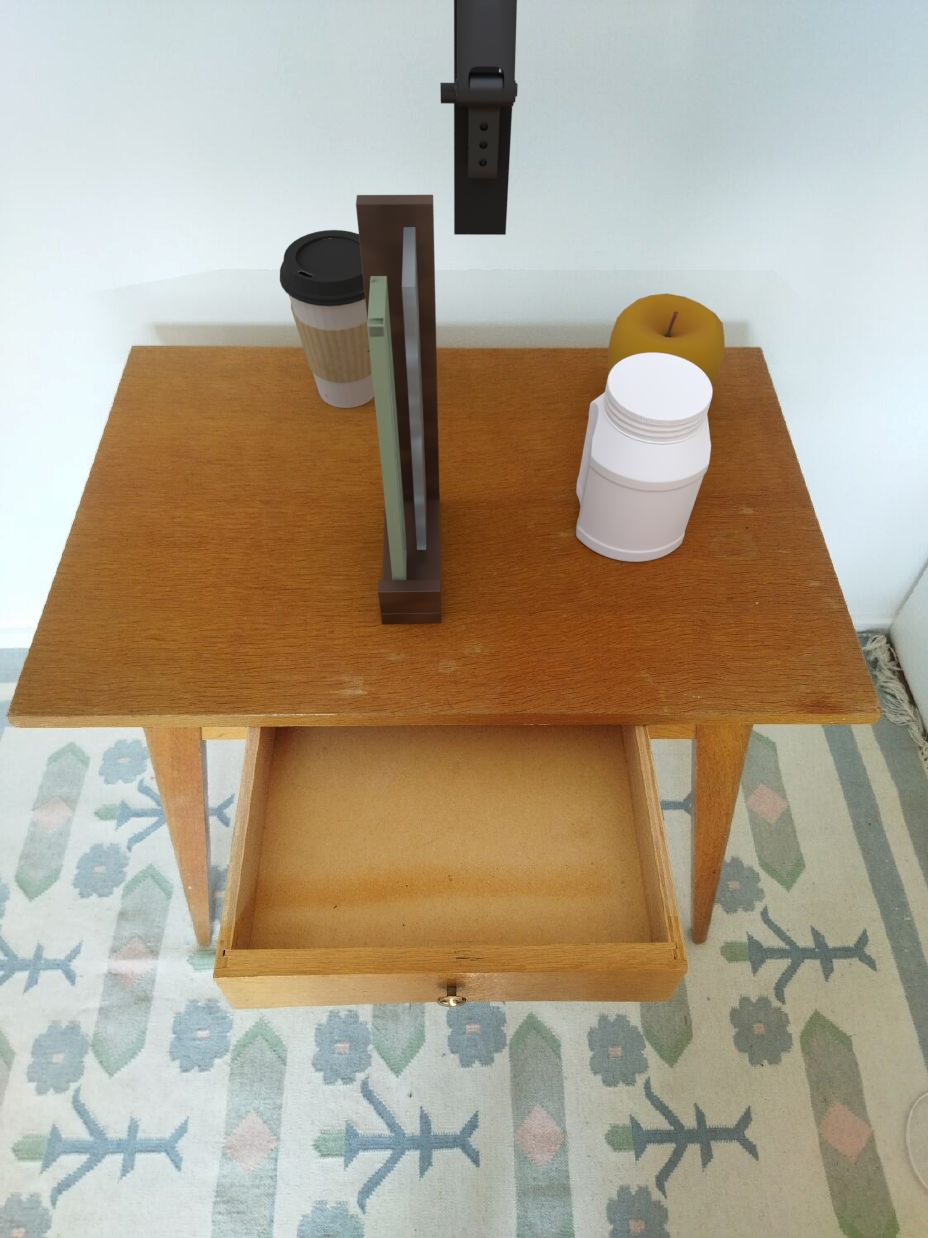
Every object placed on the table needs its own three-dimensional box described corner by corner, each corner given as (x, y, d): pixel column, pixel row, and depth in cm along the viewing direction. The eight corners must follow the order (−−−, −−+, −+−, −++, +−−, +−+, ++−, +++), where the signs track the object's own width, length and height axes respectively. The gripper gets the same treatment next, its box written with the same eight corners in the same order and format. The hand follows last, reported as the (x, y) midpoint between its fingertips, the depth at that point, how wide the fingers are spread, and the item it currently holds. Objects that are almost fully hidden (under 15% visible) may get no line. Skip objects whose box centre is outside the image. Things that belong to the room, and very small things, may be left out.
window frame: (382, 624, 69) (344, 324, 45) (386, 502, 77) (356, 194, 54) (441, 623, 69) (434, 324, 46) (439, 501, 77) (433, 193, 54)
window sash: (394, 595, 68) (367, 325, 47) (395, 549, 71) (370, 275, 50) (406, 594, 68) (384, 325, 47) (406, 548, 71) (386, 275, 50)
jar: (683, 566, 73) (729, 439, 61) (575, 558, 73) (599, 430, 61) (675, 474, 80) (715, 342, 67) (576, 468, 80) (597, 336, 68)
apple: (578, 398, 86) (595, 286, 76) (669, 376, 88) (699, 265, 78) (624, 468, 80) (649, 358, 70) (721, 443, 82) (760, 333, 72)
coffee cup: (413, 379, 88) (406, 246, 75) (357, 432, 83) (340, 299, 70) (339, 347, 91) (321, 214, 78) (282, 397, 86) (253, 263, 73)
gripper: (637, -399, 23) (558, 294, 40) (566, -454, 37) (531, 73, 54) (365, -402, 23) (404, 293, 40) (399, -456, 37) (417, 72, 54)
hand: (477, 167), depth 47 cm, fingers open, 13 cm apart
